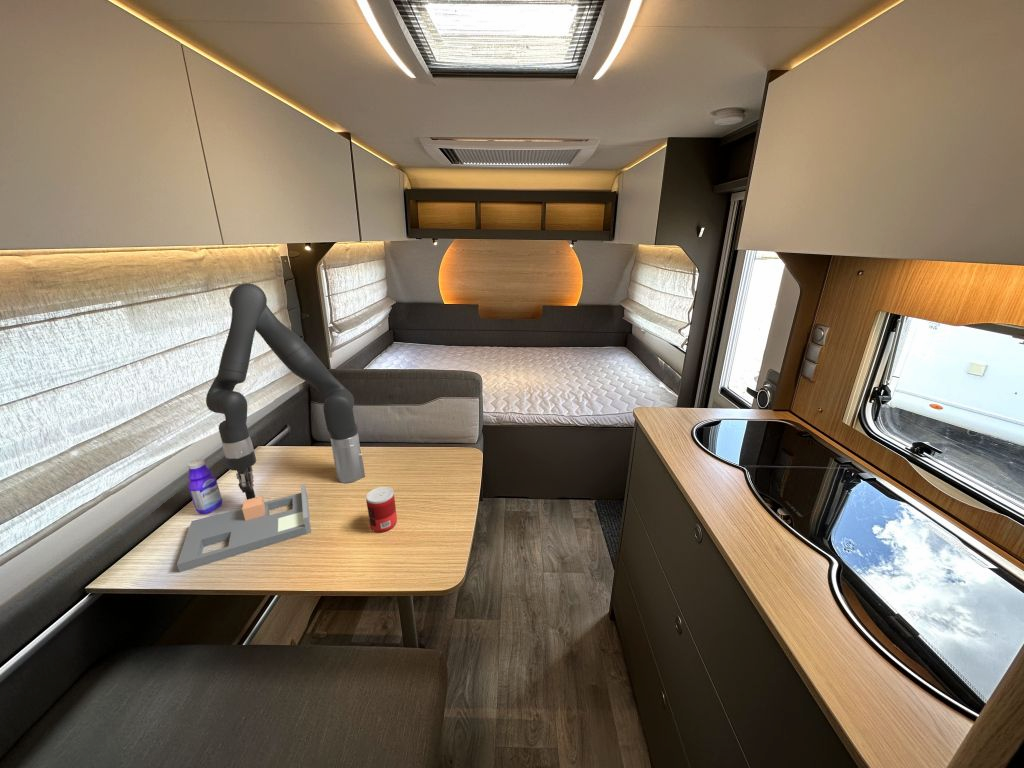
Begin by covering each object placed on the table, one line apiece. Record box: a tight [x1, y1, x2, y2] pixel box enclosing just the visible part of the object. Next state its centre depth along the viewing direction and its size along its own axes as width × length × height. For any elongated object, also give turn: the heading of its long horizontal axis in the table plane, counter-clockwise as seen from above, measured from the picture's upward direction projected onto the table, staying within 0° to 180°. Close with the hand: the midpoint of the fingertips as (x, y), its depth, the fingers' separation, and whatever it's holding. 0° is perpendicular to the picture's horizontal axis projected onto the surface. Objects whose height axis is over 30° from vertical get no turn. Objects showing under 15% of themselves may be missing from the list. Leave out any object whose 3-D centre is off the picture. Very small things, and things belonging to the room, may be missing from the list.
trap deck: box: [176, 483, 312, 573], centre depth 118 cm, size 31×20×6 cm, turn 119°
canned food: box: [365, 486, 398, 534], centre depth 119 cm, size 8×8×11 cm
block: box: [241, 495, 265, 521], centre depth 122 cm, size 5×5×4 cm
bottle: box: [187, 458, 224, 515], centre depth 127 cm, size 7×6×17 cm
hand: (251, 499), depth 129 cm, fingers closed
